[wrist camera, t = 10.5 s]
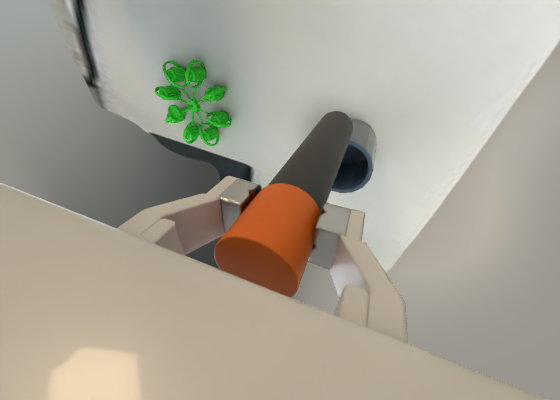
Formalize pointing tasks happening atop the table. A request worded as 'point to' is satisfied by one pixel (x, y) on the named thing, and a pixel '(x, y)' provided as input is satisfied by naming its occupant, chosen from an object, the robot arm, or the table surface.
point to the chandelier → (192, 101)
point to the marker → (286, 212)
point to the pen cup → (356, 159)
